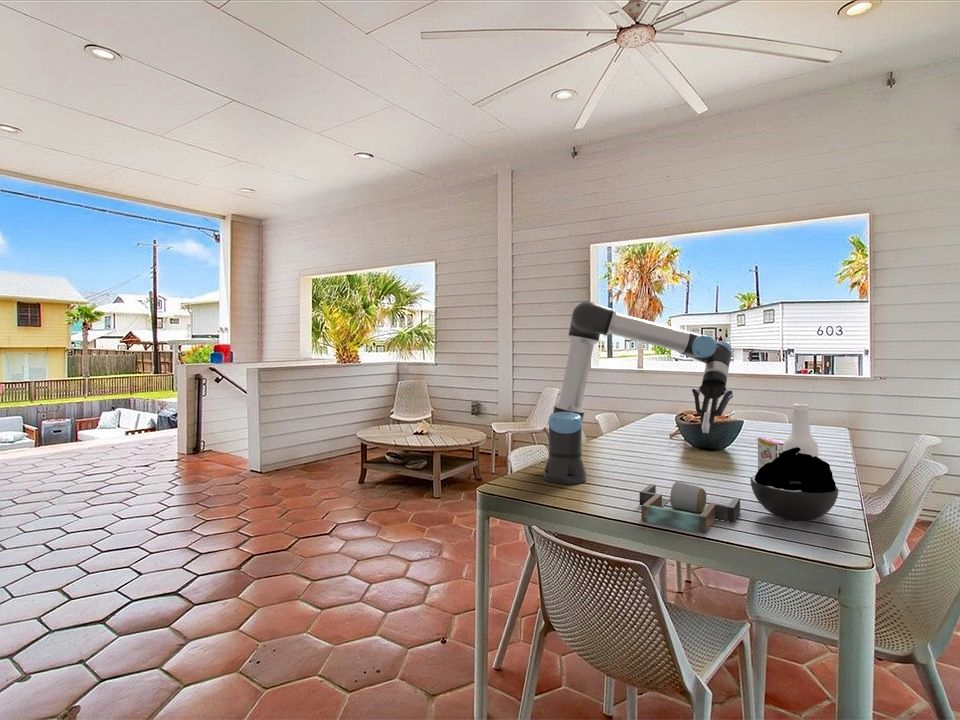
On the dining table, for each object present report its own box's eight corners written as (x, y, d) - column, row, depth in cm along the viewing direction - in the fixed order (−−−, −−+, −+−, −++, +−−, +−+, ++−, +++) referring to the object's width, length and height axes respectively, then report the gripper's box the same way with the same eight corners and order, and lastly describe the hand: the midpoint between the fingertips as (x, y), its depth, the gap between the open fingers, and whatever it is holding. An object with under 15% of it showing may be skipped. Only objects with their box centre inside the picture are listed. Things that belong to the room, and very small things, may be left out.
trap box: (625, 517, 134) (625, 502, 134) (650, 496, 153) (650, 484, 153) (725, 537, 119) (725, 521, 119) (740, 511, 138) (740, 497, 138)
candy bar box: (756, 485, 167) (756, 437, 167) (771, 485, 167) (771, 437, 167) (775, 494, 156) (776, 443, 155) (791, 494, 156) (792, 443, 155)
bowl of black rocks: (808, 538, 119) (808, 461, 118) (734, 514, 137) (734, 447, 136) (854, 525, 127) (855, 454, 127) (779, 504, 145) (780, 441, 145)
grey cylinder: (699, 516, 135) (699, 488, 135) (669, 510, 140) (669, 483, 140) (710, 508, 143) (710, 481, 143) (681, 502, 148) (682, 477, 148)
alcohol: (775, 500, 149) (776, 402, 149) (802, 499, 150) (803, 402, 150) (797, 509, 140) (798, 405, 140) (825, 508, 141) (826, 405, 141)
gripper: (737, 385, 170) (728, 439, 157) (696, 383, 178) (685, 435, 165) (735, 370, 166) (726, 425, 152) (693, 369, 174) (681, 421, 160)
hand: (704, 430), depth 159 cm, fingers closed
